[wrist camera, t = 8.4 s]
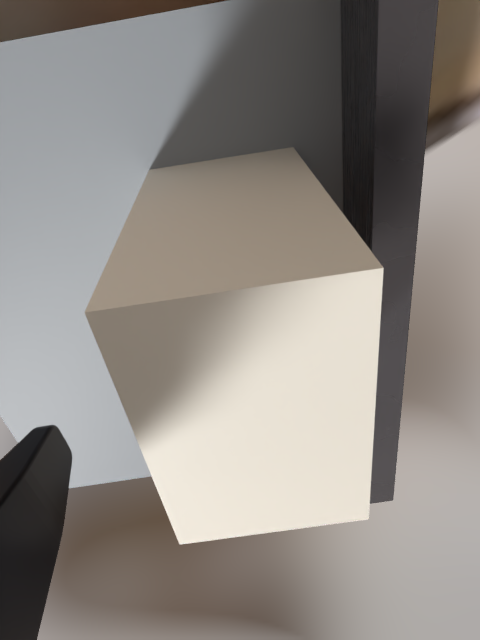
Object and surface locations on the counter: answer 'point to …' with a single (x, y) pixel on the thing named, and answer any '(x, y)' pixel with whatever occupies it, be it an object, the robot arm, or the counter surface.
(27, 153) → the shelf
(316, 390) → the tea box
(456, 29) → the counter surface
